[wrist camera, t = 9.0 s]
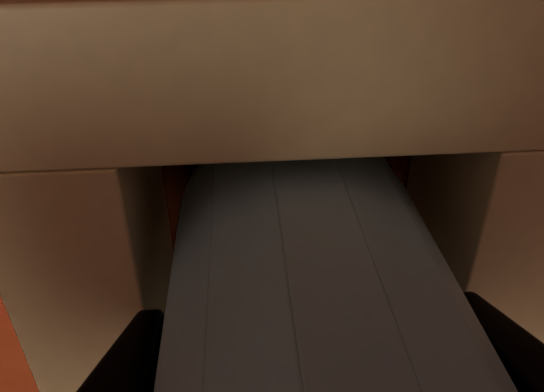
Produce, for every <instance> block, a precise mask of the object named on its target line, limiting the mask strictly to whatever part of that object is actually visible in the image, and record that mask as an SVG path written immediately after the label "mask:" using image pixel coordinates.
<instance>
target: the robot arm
mask: <svg viewBox="0 0 544 392" xmlns="http://www.w3.org/2000/svg"><path fill="white" fill-rule="evenodd" d="M463 293H464V295H465V297H466V298H467V300H468V302H469V304H470V306H471V308H472V309H473V311H474V313H475V315H476V317H477V318H478V320H479V322H480V324H481V326H482V327H483V329H484V331H485V333H486V335H487V336H488V338H489V340H490V342H491V344H492V345H493V347H494V349H495V351H496V353H497V354H498V356H499V358H500V360H501V362H502V364H503V365H504V367H505V369H506V371H507V373H508V374H509V376H510V378H511V380H512V382H513V383H514V385H515V387H516V389H517V391H518V392H544V343H543V342H541V341H540V340H539V339H537V338H536V337H535V336H533V335H532V334H531V333H529V332H528V331H527V330H525V329H524V328H523V327H521V326H520V325H518V324H517V323H516V322H514V321H513V320H512V319H510V318H509V317H508V316H506V315H505V314H504V313H502V312H501V311H500V310H498V309H497V308H496V307H494V306H493V305H492V304H490V303H489V302H487V301H486V300H485V299H483V298H482V297H481V296H479V295H478V294H477V293H475V292H471V291H467V292H463ZM163 322H164V314H163V312H162V310H160V309H149V310H141V311H139V312H138V313H137V314H136V315H135V316H134V318H133V319H132V320H131V321H130V323H129V324H128V325H127V327H126V328H125V329H124V331H123V332H122V333H121V334H120V336H119V337H118V338H117V340H116V341H115V342H114V343H113V345H112V346H111V347H110V349H109V350H108V351H107V352H106V354H105V355H104V356H103V358H102V359H101V360H100V361H99V363H98V364H97V365H96V367H95V368H94V369H93V370H92V372H91V373H90V374H89V376H88V377H87V378H86V379H85V381H84V382H83V383H82V385H81V386H80V387H79V389H78V390H77V391H76V392H154V385H155V378H156V371H157V364H158V357H159V350H160V343H161V336H162V329H163Z"/></svg>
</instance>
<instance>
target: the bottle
mask: <svg viewBox="0 0 544 392" xmlns="http://www.w3.org/2000/svg"><path fill="white" fill-rule="evenodd" d="M154 392H518V391H517V389H516V387H515V385H514V383H513V382H512V380H511V378H510V376H509V374H508V373H507V371H506V369H505V367H504V365H503V364H502V362H501V360H500V358H499V356H498V354H497V353H496V351H495V349H494V347H493V345H492V344H491V342H490V340H489V338H488V336H487V335H486V333H485V331H484V329H483V327H482V326H481V324H480V322H479V320H478V318H477V317H476V315H475V313H474V311H473V309H472V308H471V306H470V304H469V302H468V300H467V298H466V297H465V295H464V293H463V291H462V289H461V288H460V286H459V284H458V282H457V280H456V279H455V277H454V275H453V273H452V271H451V270H450V268H449V266H448V264H447V262H446V261H445V259H444V257H443V255H442V253H441V251H440V250H439V248H438V246H437V244H436V242H435V241H434V239H433V237H432V235H431V233H430V232H429V230H428V228H427V226H426V224H425V223H424V221H423V219H422V217H421V215H420V214H419V212H418V210H417V208H416V206H415V205H414V203H413V201H412V199H411V197H410V195H409V194H408V192H407V190H406V188H405V186H404V185H403V183H402V182H401V181H400V180H399V178H398V177H397V176H396V175H395V173H394V171H393V169H392V168H391V166H390V165H389V163H388V162H387V160H386V159H385V158H384V157H363V158H339V159H315V160H290V161H266V162H242V163H217V164H199V166H198V167H197V168H196V170H195V171H194V173H193V174H192V176H191V178H190V179H189V181H188V184H187V186H186V188H185V190H184V194H183V197H182V198H181V205H180V212H179V219H178V225H177V232H176V239H175V246H174V253H173V260H172V267H171V274H170V280H169V287H168V294H167V301H166V308H165V315H164V322H163V329H162V336H161V343H160V350H159V357H158V364H157V371H156V378H155V385H154Z"/></svg>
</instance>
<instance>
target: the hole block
mask: <svg viewBox="0 0 544 392" xmlns="http://www.w3.org/2000/svg"><path fill="white" fill-rule="evenodd" d="M387 156H411V160H410V166H409V172H408V178H407V185H406V190H407V192H408V194H409V195H410V197H411V199H412V201H413V203H414V205H415V206H416V208H417V210H418V212H419V214H420V215H421V217H422V219H423V221H424V223H425V224H426V226H427V228H428V230H429V232H430V233H431V235H432V237H433V239H434V241H435V242H436V244H437V246H438V248H439V250H440V251H441V253H442V255H443V257H444V259H445V261H446V262H447V264H448V266H449V268H450V270H451V271H452V273H453V275H454V277H455V279H456V280H457V282H458V284H459V286H460V288H461V289H462V291H463V292H467V291H471V292H475V293H477V294H478V295H479V296H481V297H482V298H483V299H485V300H486V301H487V302H489V303H490V304H492V305H493V306H494V307H496V308H497V309H498V310H500V311H501V312H502V313H504V314H505V315H506V316H508V317H509V318H510V319H512V320H513V321H514V322H516V323H517V324H518V325H520V326H521V327H523V328H524V329H525V330H527V331H528V332H529V333H531V334H532V335H533V336H535V337H536V338H537V339H539V340H540V341H541V342H543V343H544V0H0V295H1V298H2V300H3V303H4V305H5V307H6V310H7V312H8V315H9V317H10V320H11V322H12V325H13V327H14V330H15V332H16V335H17V337H18V340H19V342H20V345H21V347H22V349H23V352H24V354H25V357H26V359H27V362H28V364H29V367H30V369H31V372H32V374H33V377H34V379H35V382H36V384H37V387H38V389H39V392H76V391H77V390H78V389H79V387H80V386H81V385H82V383H83V382H84V381H85V379H86V378H87V377H88V376H89V374H90V373H91V372H92V370H93V369H94V368H95V367H96V365H97V364H98V363H99V361H100V360H101V359H102V358H103V356H104V355H105V354H106V352H107V351H108V350H109V349H110V347H111V346H112V345H113V343H114V342H115V341H116V340H117V338H118V337H119V336H120V334H121V333H122V332H123V331H124V329H125V328H126V327H127V325H128V324H129V323H130V321H131V320H132V319H133V318H134V316H135V315H136V314H137V313H138V312H139V311H141V310H149V309H160V310H162V312H163V314H164V315H165V308H166V301H167V294H168V287H169V280H170V274H171V267H172V260H173V253H174V249H173V243H172V236H171V229H170V222H169V215H168V208H167V201H166V194H165V187H164V180H163V173H162V166H169V165H193V164H217V163H242V162H266V161H290V160H315V159H339V158H363V157H387Z"/></svg>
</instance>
